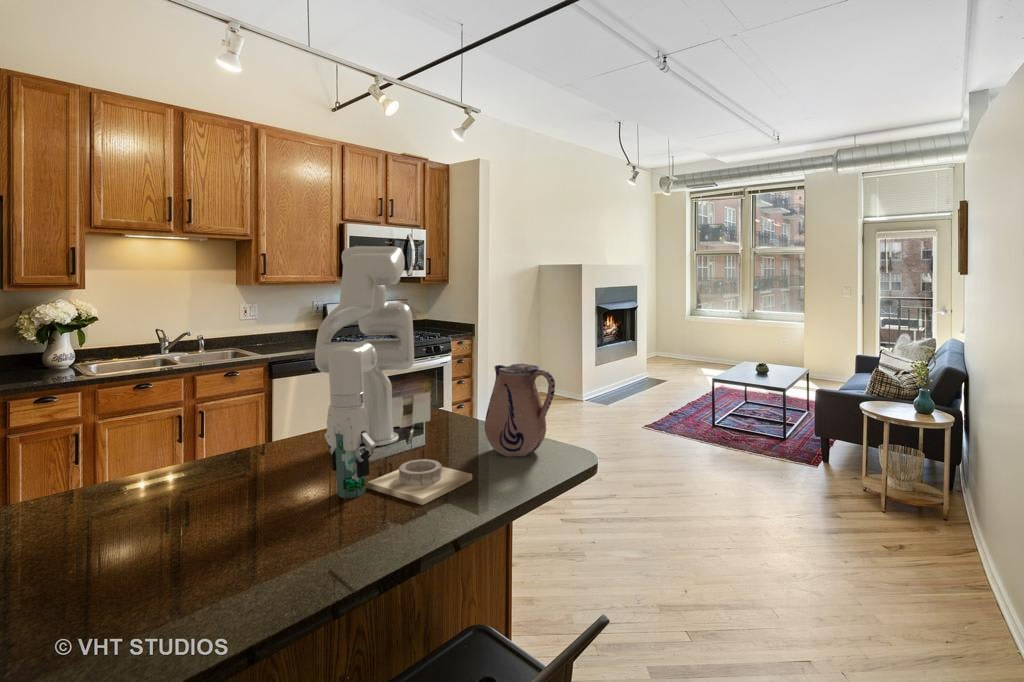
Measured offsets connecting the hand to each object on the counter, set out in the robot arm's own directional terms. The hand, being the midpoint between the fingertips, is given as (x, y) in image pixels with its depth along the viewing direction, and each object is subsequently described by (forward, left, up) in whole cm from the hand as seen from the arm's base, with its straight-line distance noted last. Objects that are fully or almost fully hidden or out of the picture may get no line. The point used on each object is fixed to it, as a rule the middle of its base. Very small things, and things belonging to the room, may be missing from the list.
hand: (350, 472), depth 131 cm
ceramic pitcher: (+18, +46, -5) cm, 50 cm away
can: (0, 0, -5) cm, 5 cm away
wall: (-32, +52, -5) cm, 61 cm away
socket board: (+10, +13, -5) cm, 17 cm away
